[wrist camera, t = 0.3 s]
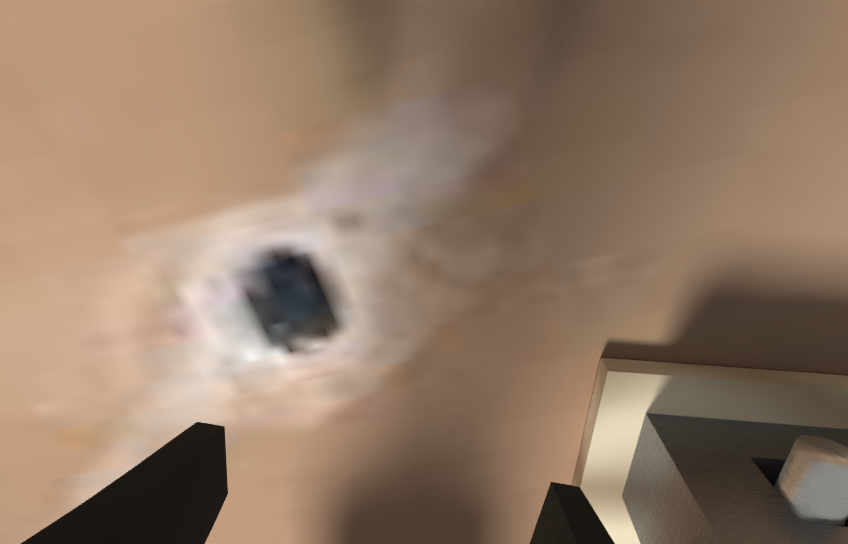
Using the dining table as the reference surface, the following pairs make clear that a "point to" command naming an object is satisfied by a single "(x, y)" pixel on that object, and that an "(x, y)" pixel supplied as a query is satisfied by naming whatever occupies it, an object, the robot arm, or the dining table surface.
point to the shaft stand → (703, 451)
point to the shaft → (816, 481)
